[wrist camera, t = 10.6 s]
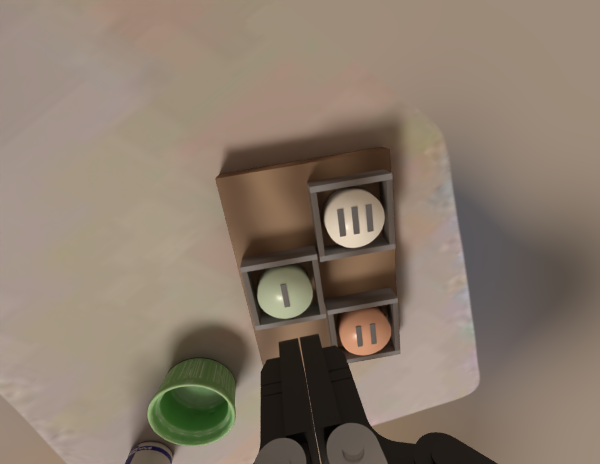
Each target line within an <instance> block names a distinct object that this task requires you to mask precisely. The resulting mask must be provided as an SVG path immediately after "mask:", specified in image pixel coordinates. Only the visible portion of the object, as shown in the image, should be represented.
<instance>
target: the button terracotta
mask: <svg viewBox="0 0 600 464" xmlns="http://www.w3.org/2000/svg"><path fill="white" fill-rule="evenodd" d="M337 328H338V332H339V335H340V338H341V342H342V344H343V346H344V347H345V349H346V350H347V351H349V352H351V353H353V354H356V355H369V354H373V353H375V352H377V351H379V350H381V349H382V348H383V347H384V346H385V345H386V344H387V343H388V341H389V339H390V336H391V327H390V324H389V322H388V320H387V319H386V317H385V315H384V313H383V311H382V310H381V309H380V308H379V307H378V306H376V307H370V308H365V309H359V310H354V311H348V312H342V313H341V314H340V315H339V317H338V320H337Z"/></svg>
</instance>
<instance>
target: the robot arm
mask: <svg viewBox="0 0 600 464" xmlns="http://www.w3.org/2000/svg"><path fill="white" fill-rule="evenodd" d="M300 344H301V350H302V356H303V361H302V356H301V351H300V346H299V341H298V338H295V339H290V340H285V341H280V342H279V356H280V357H277V358H272V359H267V360H266V362H265V364H264V366H263V369H262V371H261V442H260V450H259V453H258V455H257V457H256V459H255V462H254V463H253V464H320V460H319V454H318V448H317V442H318V447H319V452H320V457H321V462H322V464H497V463H495V462H494V461H492V460H491V459H489V458H487V457H486V456H484V455H482V454H480V453H479V452H477V451H476V450H474V449H472V448H471V447H469V446H467V445H466V444H464V443H462V442H461V441H459V440H458V439H456V438H454V437H452V436H450V435H447V434H444V433H437V432H435V433H428V434H426V435H424V436H422V437H421V438H420V439H419V440H418V441H417V443H416V444H411V443H403V442H395V441H391V440H388V439H386V438H384V437H382V436H381V435H379V434H378V433H377V432H376V431H375V430H374V429H373V428H372V427H371V426H370V424H369V422H368V420H367V418H366V415H365V412H364V409H363V406H362V403H361V400H360V397H359V394H358V391H357V389H356V386H355V383H354V380H353V377H352V374H351V371H350V369H349V365H348V362H347V359H346V356H345V354H344V353H343V352H342V351H341V350H340V349H339V348H338V347H337V346H336V345H334V346H329V347H324V348H322V345H321V341H320V337H319V334H314V335H309V336H304V337H300ZM303 362H304V366H303ZM304 368H305V371H304ZM305 373H306V376H305ZM306 379H307V382H306ZM307 385H308V388H307ZM308 391H309V394H308ZM309 397H310V400H309ZM310 403H311V406H310ZM311 409H312V412H311ZM312 415H313V418H312ZM313 421H314V424H313ZM314 427H315V430H314ZM315 433H316V436H315ZM316 437H317V442H316Z"/></svg>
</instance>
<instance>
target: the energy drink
mask: <svg viewBox="0 0 600 464" xmlns="http://www.w3.org/2000/svg"><path fill="white" fill-rule="evenodd" d="M172 460H173V455H172V453H171V451H170V449H169V448H168V447H167V446H165V445H164V444H161V443H158V442H144V443H141V444H139V445H137V446H135V447H134V448H133V449H132V450H131V451H130V453H129V456H128V458H127V460H126V463H125V464H172Z"/></svg>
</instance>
